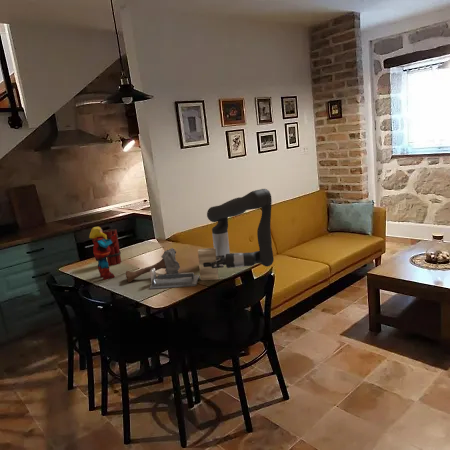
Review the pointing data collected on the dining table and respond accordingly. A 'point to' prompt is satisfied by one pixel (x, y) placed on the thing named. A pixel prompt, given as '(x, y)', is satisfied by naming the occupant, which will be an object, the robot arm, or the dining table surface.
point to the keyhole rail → (173, 280)
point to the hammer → (158, 265)
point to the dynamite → (113, 248)
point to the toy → (102, 250)
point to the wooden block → (207, 256)
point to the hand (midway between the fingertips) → (204, 262)
